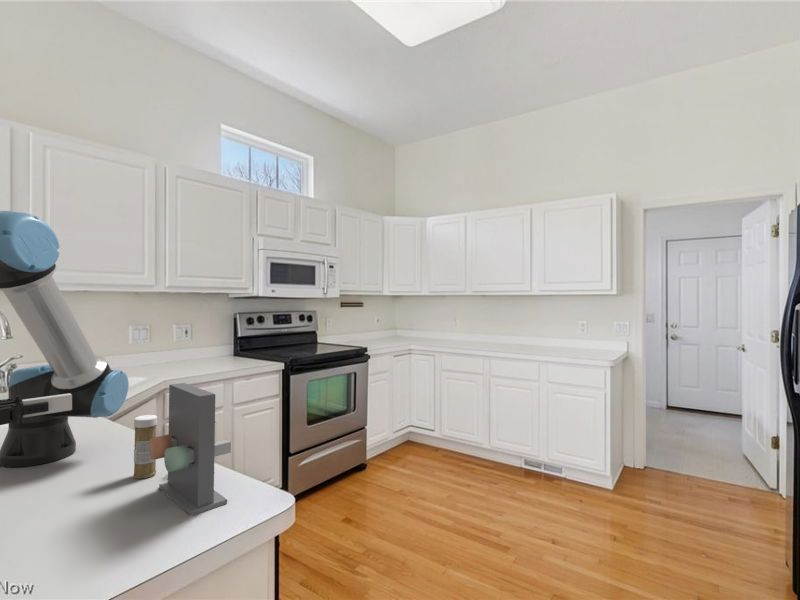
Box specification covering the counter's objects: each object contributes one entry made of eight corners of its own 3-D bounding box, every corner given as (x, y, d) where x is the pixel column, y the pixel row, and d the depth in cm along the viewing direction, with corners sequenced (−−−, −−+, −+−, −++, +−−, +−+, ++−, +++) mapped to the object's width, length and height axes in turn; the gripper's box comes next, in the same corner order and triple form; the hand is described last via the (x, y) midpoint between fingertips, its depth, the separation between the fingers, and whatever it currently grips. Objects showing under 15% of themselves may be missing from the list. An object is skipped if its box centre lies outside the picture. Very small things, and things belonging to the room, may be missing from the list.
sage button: (164, 468, 83) (164, 445, 83) (223, 453, 91) (223, 433, 91) (172, 475, 80) (172, 451, 80) (233, 459, 88) (233, 437, 88)
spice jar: (139, 471, 100) (140, 414, 101) (159, 471, 101) (160, 414, 101) (129, 479, 96) (130, 419, 96) (150, 479, 96) (151, 419, 96)
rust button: (148, 456, 89) (149, 435, 89) (205, 443, 97) (206, 424, 97) (156, 462, 86) (156, 440, 86) (214, 448, 94) (214, 428, 94)
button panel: (159, 488, 92) (160, 385, 92) (193, 478, 97) (194, 381, 97) (190, 515, 80) (192, 398, 80) (227, 503, 85) (229, 392, 86)
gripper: (-138, 447, 63) (63, 415, 81) (-149, 474, 54) (79, 430, 72) (-139, 397, 63) (63, 375, 80) (-150, 415, 54) (79, 386, 72)
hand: (70, 401), depth 76 cm, fingers closed
